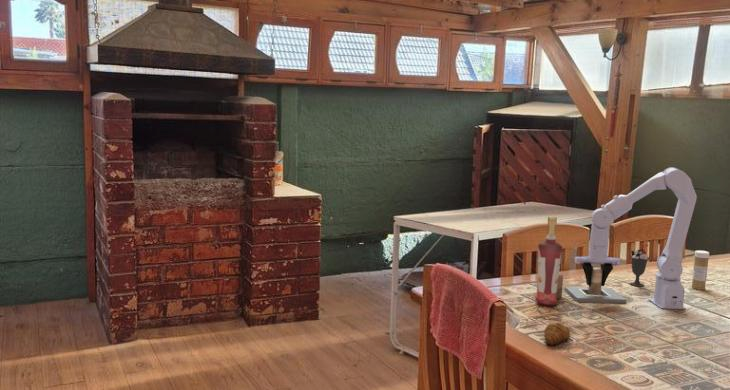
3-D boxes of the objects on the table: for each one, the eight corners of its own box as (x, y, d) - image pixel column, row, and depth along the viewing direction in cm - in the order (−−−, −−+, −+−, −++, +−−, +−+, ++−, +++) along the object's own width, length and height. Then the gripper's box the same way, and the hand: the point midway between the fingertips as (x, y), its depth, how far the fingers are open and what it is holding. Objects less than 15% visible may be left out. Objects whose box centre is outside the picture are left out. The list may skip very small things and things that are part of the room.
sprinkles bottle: (694, 285, 231) (698, 249, 229) (707, 288, 227) (711, 252, 225) (688, 287, 228) (692, 251, 226) (702, 291, 224) (706, 253, 222)
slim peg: (602, 294, 211) (604, 270, 210) (590, 294, 212) (592, 270, 211) (598, 291, 215) (600, 268, 214) (586, 290, 215) (588, 267, 215)
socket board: (626, 303, 207) (626, 299, 207) (576, 301, 207) (577, 297, 207) (610, 291, 220) (611, 287, 220) (564, 289, 220) (564, 286, 220)
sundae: (650, 287, 226) (654, 246, 224) (631, 287, 226) (635, 245, 224) (642, 282, 233) (646, 242, 230) (624, 282, 233) (627, 241, 231)
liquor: (558, 308, 199) (565, 220, 195) (534, 306, 201) (541, 218, 197) (556, 301, 206) (563, 216, 202) (533, 299, 208) (539, 214, 204)
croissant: (552, 330, 180) (553, 313, 180) (576, 336, 176) (578, 318, 176) (535, 344, 169) (537, 326, 168) (561, 350, 165) (562, 332, 165)
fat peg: (564, 298, 210) (566, 278, 209) (542, 298, 210) (544, 277, 209) (557, 292, 217) (559, 272, 216) (536, 291, 217) (538, 271, 216)
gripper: (616, 243, 215) (612, 282, 217) (573, 241, 215) (569, 281, 217) (624, 247, 208) (620, 288, 210) (579, 246, 208) (576, 286, 210)
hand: (595, 285), depth 213 cm, fingers closed on slim peg, 4 cm apart
